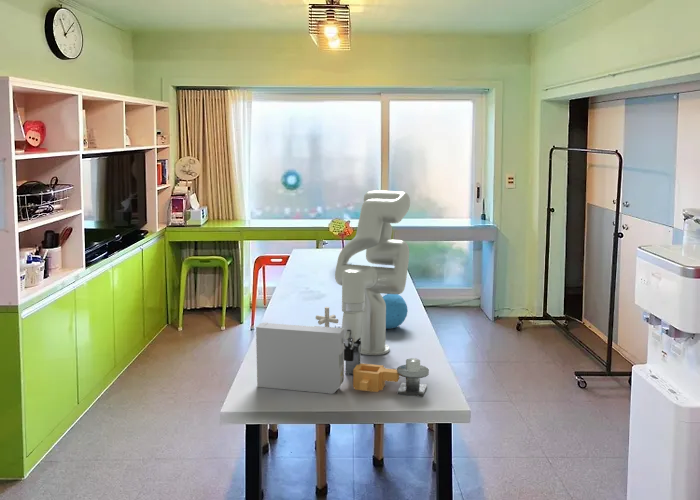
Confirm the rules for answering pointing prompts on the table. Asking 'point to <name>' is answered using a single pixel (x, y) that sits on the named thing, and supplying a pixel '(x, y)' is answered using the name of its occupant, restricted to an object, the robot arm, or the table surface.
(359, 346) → the rectangular block
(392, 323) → the blue ball
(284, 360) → the game console
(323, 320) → the pipe connector
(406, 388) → the grey disc with stub
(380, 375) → the bracket head
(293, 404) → the table surface
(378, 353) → the robot arm
